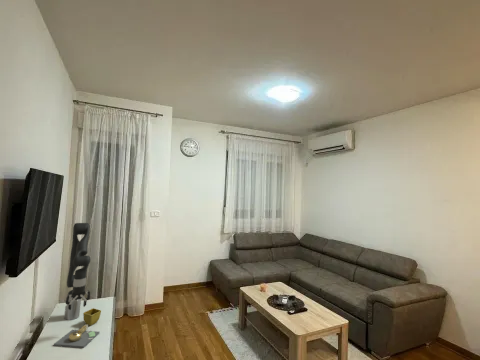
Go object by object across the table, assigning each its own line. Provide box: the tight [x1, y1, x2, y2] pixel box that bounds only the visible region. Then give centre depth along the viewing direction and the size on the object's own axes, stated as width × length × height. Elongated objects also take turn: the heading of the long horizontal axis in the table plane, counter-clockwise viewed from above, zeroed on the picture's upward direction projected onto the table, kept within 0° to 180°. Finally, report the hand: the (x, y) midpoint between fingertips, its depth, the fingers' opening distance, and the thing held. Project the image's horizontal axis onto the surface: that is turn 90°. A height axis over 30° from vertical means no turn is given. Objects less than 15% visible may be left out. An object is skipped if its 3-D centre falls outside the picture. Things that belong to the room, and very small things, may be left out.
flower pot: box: [82, 307, 102, 326], centre depth 186 cm, size 9×9×9 cm
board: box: [53, 329, 100, 349], centre depth 166 cm, size 21×18×2 cm
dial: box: [69, 323, 89, 342], centre depth 168 cm, size 15×7×4 cm, turn 178°
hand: (77, 307), depth 172 cm, fingers open, 8 cm apart
